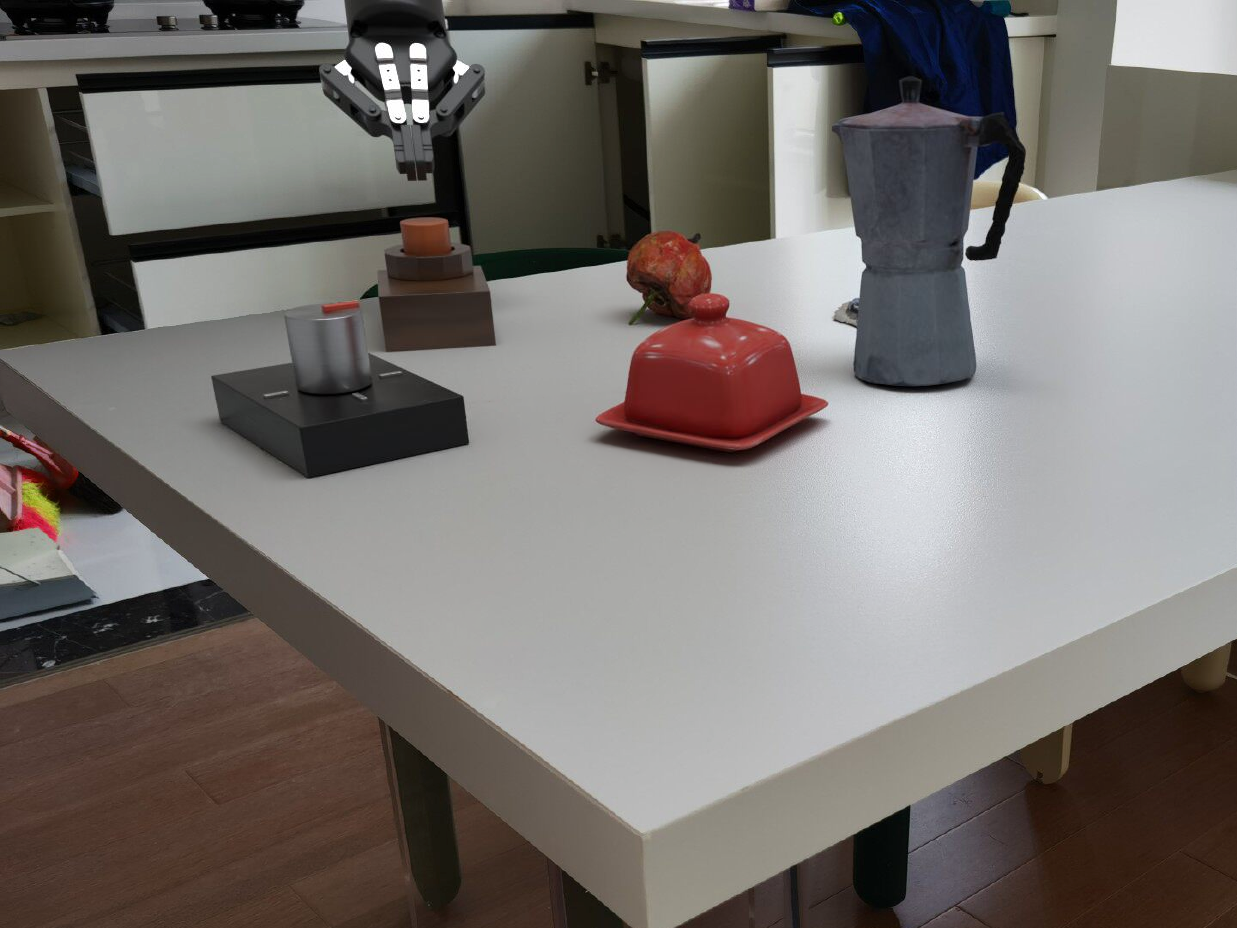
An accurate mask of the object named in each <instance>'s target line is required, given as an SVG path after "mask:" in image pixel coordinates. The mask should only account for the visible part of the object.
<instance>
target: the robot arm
mask: <svg viewBox="0 0 1237 928" xmlns="http://www.w3.org/2000/svg"><path fill="white" fill-rule="evenodd" d="M343 2H344V10H345V17H346V26H347V35H348V44H347V46H346V47H345V49H344V52H343V57H344V59H343V61H341V62H340V63H338V64H336V65H335V66H334V65H332V64H331V63H323V64H321V65H320V66H319V68H318V72H319V77H320V83H321V88H322V89H321V90H322V94H323V95H324V97H326V98H327V99H328V100H329V101H330V102H331V103H333V104H334V105H335V106H336V107H337V108H338V109H339V110H341V111H342V113H344V114H345V115H347V117H348V118H350V119H351V120H352V121H353V122H354V123H355V124H357V125H358V126H359V127H360V128H361V129H362V130H364V131H365V132H366V133H367V134H368V135H369V136H370V137H372V138H380V137H382V136H385V137H387V138H389V139H390V140H391V141H392V144H393V151H394V159H395V168H396V170H397V172H398V174H399V175H406V179H407V182H417V181H418V182H425V181H426V182H427V181H428V177H427V174H434V171H435V168H436V167H435V166H436V165H435V157H434V156H435V155H434V148H433V141H432V140H433V138H434V137H437V136H439V135H440V136H441V137H445V138H446V137H451V136H452V135H453V134H454V133H455V132H456V131H457V129H458V128H459V127H460V126H461V124H462V123H463V122H464V121H465V119H467V117H468V116H469V114H470V113H471V112H472V111H473V110H474V108H475V107H476V106H477V105H478V104H479V103H480V101H481V100H482V99H483V97H484V96H485V95H486V71H485V68H484V67H483V65H481V64H478V63H473V64H471V65H467V64H465V63H463V62H462V61H460V60H458V54H457V51H456V50H455V49H454V47H453V46H452V45H451V44H450V42H449V38H448V32H447V25H446V19H445V11H444V5H443V4H444V3H443V0H343ZM452 79H453V86H452V87H451V88H450V90H449V91H448V92H447V93H446V94H445V96H443V97H442V99H441V100H440V101H439V102H438V104H437V105H436V106H435V109H431V107H430V105H431V104H430V103H431V102H434V101H435V100H436V99H437V98H438V97H439V96H440V95H441V94H442V93H443V91H444V89H445V88H446V87H447V86H448V85H449V83H450V82H451V80H452ZM355 80H356V81H357V82H358V84H360V85H361V86H362V87H363V88H364V89H365V90H366V91H368V93H370V94H371V95H372V96H373V98H375V99H376V100H378V101H379V102H382V103H383V104H384V108H385V110H383V109H382V108H381V107H380V106H379V104H377V102H375V101H374V100H373V99H372V98H371V97H369V96H368V95H367V94H366V93H365V92H364V91H362V89H360V87H358V86H357V85H356V82H355ZM405 105H411V107H412V108H411V109H412V119H411V120H412V124H408V119H407V113H406V109H405Z"/></svg>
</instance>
